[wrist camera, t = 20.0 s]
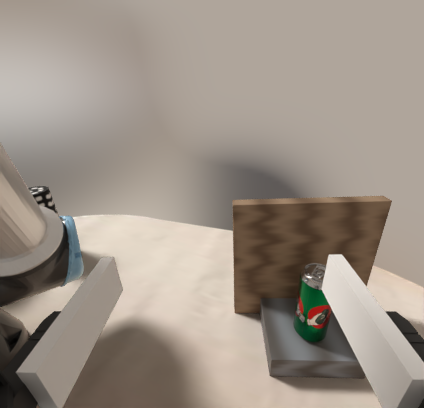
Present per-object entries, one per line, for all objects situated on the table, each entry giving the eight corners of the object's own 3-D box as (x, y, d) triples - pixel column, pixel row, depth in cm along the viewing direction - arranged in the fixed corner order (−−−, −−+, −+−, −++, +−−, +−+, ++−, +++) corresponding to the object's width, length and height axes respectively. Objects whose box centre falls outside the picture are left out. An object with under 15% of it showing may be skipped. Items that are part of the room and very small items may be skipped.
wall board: (237, 375, 36) (236, 247, 26) (234, 304, 48) (232, 200, 38) (399, 379, 34) (463, 244, 24) (353, 305, 46) (383, 195, 36)
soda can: (331, 330, 38) (345, 272, 33) (316, 351, 35) (329, 291, 30) (302, 311, 41) (311, 256, 36) (286, 329, 38) (293, 272, 33)
